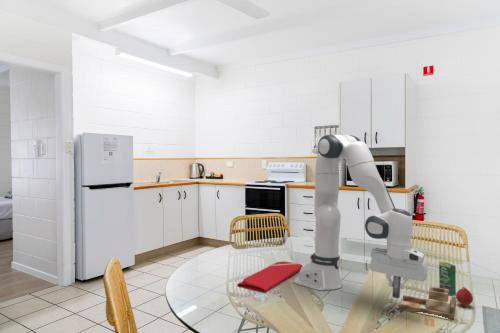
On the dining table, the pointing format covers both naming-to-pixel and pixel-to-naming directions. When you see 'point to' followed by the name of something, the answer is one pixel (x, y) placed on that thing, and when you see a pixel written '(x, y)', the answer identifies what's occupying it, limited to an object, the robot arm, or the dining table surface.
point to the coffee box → (447, 277)
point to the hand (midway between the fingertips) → (396, 287)
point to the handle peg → (396, 286)
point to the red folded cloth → (270, 276)
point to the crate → (438, 300)
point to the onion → (464, 297)
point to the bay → (413, 306)
